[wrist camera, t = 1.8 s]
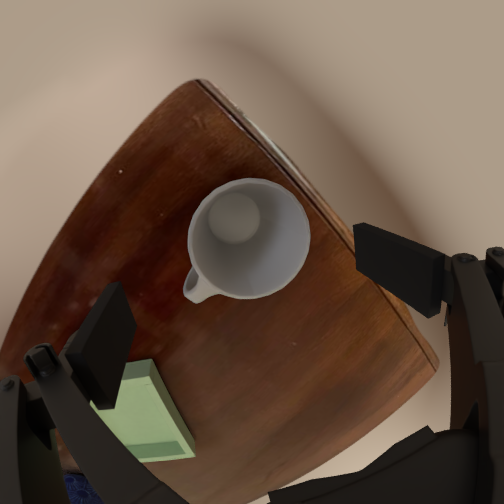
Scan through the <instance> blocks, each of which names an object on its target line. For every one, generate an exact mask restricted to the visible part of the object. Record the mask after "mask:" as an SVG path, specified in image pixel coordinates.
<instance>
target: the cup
mask: <svg viewBox="0 0 504 504" xmlns="http://www.w3.org/2000/svg"><path fill="white" fill-rule="evenodd" d="M310 237H311V235H310V227H309V220H308V218H307V216H306V213H305V211H304V208H303V206H302V205H301V204H300V202H299V201H298V200H297V199H296V197H295V196H294V195H293V194H292V193H291V192H289V191H288V190H287V189H285V188H284V187H283V186H281V185H279V184H277V183H274V182H271V181H269V180H266V179H257V178H245V179H240V180H235V181H230V182H228V183H226V184H224V185H222V186H220V187H219V188H217V189H215V190H214V191H213V192H211V193H210V194H209V195H208V196H207V197H206V198H205V199H204V200H203V201H202V202H201V204H200V205H199V207H198V208H197V210H196V212H195V213H194V215H193V217H192V221H191V224H190V227H189V230H188V251H189V255H190V259H191V263H192V265H193V266H192V268H191V270H190V272H189V273H188V276H187V278H186V281H185V284H184V288H183V292H184V295H185V296H186V297H187V298H188V299H189V300H191V301H192V302H194V303H200V302H202V301H203V300H205V299H206V298H207V297H209V296H212V295H216V294H223V295H225V296H229V297H233V298H237V299H256V298H260V297H263V296H267V295H270V294H272V293H274V292H276V291H278V290H280V289H282V288H283V287H284V286H286V285H287V284H288V283H289V282H290V281H291V280H292V279H294V277H295V276H296V275H297V273H298V272H299V270H300V269H301V268H302V266H303V264H304V262H305V259H306V256H307V254H308V251H309V244H310Z"/></svg>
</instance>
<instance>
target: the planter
mask: <svg viewBox="0 0 504 504" xmlns="http://www.w3.org/2000/svg"><path fill="white" fill-rule="evenodd" d="M64 480H65V484H66V488H67V492H68V495H69V499H70V502H71V504H104V502H103V501H102V500H101V498H100V497H99V496H98V494H97V493H96V491H95V490H94V489H93V487H92V486H91V484H90V483H89V481H88V480H87V478H86V477H85V476H82V475H77V474H67V475H64Z"/></svg>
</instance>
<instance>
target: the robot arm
mask: <svg viewBox="0 0 504 504" xmlns="http://www.w3.org/2000/svg"><path fill="white" fill-rule="evenodd" d="M353 232H354V244H355V257H356V270H358V271H359V272H361V273H362V274H364V275H365V276H367V277H368V278H370V279H371V280H373V281H374V282H376V283H377V284H379V285H380V286H382V287H383V288H385V289H386V290H388V291H389V292H391V293H392V294H393V295H395V296H396V297H398V298H399V299H401V300H402V301H404V302H405V303H407V304H408V305H410V306H411V307H412V308H414V309H415V310H417V311H418V312H420V313H421V314H422V315H424V316H425V317H426V318H431V317H432V316H435V315H436V314H439V313H440V309H441V301H442V300H443V301H444V302H446V303H447V309H446V316H445V322H444V326H446V325H447V324H448V332H449V346H450V362H451V418H450V430H444V431H441V432H436V433H434V432H433V431H432V430H431V429H430V428H429V426H428V425H427V426H425V427H424V428H422V429H420V430H419V431H417V432H415V433H413V434H412V435H410V436H408V437H407V438H405V439H403V440H401V441H399V442H398V443H395V444H394V445H393V446H392V447H391V448H389V449H388V450H387V451H386V452H384V453H383V454H382V455H381V456H379V457H378V458H377V459H376V460H374V461H373V462H372V463H370V464H369V465H368V466H367V467H365V468H364V469H362V470H360V471H358V472H354V473H349V474H343V475H338V476H332V477H326V478H319V479H312V480H309V481H305V482H303V483H299V484H296V485H293V486H289V487H286V488H282V489H278V490H274V491H271V492H268V495H269V498H270V502H269V503H267V504H504V249H503V248H502V247H492V248H488V249H487V251H486V259H485V260H480V261H479V260H478V259H477V258H476V257H475V256H474V255H470V254H467V253H461V254H455V255H453V256H452V257H449V256H447V255H445V254H443V253H441V252H439V251H436V250H434V249H432V248H429V247H427V246H424V245H422V244H419V243H417V242H414V241H412V240H409V239H406V238H404V237H401V236H399V235H396V234H394V233H391V232H388V231H386V230H383V229H380V228H378V227H375V226H372V225H369V224H366V223H360V224H355V225H353ZM136 327H137V324H136V322H135V319H134V317H133V314H132V312H131V309H130V306H129V304H128V301H127V298H126V296H125V293H124V290H123V287H122V284H121V282H120V281H119V282H115V283H110V284H108V285H107V286H106V288H105V289H104V291H103V292H102V294H101V295H100V297H99V298H98V300H97V301H96V303H95V304H94V306H93V308H92V309H91V311H90V312H89V314H88V315H87V317H86V319H85V320H84V322H83V323H82V325H81V327H80V328H79V330H77V331H76V332H75V333H74V334H73V335H71V336H70V338H69V339H68V341H67V343H66V344H65V346H64V348H63V350H62V351H61V353H60V354H59V356H58V357H57V355H56V353H55V351H54V349H53V347H52V345H51V344H49V343H42V344H39V345H37V346H34V347H33V348H31V349H30V350H29V351H28V352H27V353H26V354H25V356H24V359H23V360H24V362H25V364H26V366H27V367H28V369H29V371H30V372H31V374H32V376H33V377H34V379H35V381H33V382H30V383H27V384H23V382H22V381H21V379H20V378H19V377H18V376H17V375H12V376H9V377H7V378H4V379H3V380H1V381H0V504H71V502H70V499H69V495H68V492H67V488H66V484H65V480H64V476H63V472H62V468H61V463H60V459H59V454H58V448H57V443H56V437H55V430H54V429H55V428H57V430H58V431H59V433H60V435H61V437H62V439H63V441H64V443H65V444H66V446H67V448H68V450H69V451H70V453H71V455H72V456H73V458H74V460H75V461H76V463H77V465H78V466H79V468H80V469H81V471H82V472H83V474H84V475H85V477H86V478H87V480H88V481H89V483H90V484H91V486H92V487H93V489H94V490H95V491H96V493H97V494H98V496H99V497H100V498H101V500H102V501H103V502H104V504H189V503H188V502H187V501H186V500H184V499H183V498H182V497H181V496H179V495H178V494H177V493H176V492H175V491H173V490H172V489H171V488H170V487H169V486H167V485H166V484H165V483H164V482H162V481H160V480H159V479H158V478H156V477H155V476H154V475H153V474H152V473H151V472H150V471H149V470H148V469H147V468H146V467H145V466H144V465H143V464H142V463H141V462H140V461H139V460H138V459H137V458H136V457H135V456H134V455H133V454H132V453H131V452H130V451H129V450H128V449H127V448H126V447H125V446H124V444H123V443H122V442H121V441H120V440H119V439H118V438H117V437H116V436H115V434H114V433H113V432H112V431H111V430H110V429H109V427H108V426H107V425H106V424H105V423H104V421H103V420H102V419H101V418H100V417H99V415H98V414H97V413H96V412H95V410H94V409H93V408H92V406H91V405H90V402H91V401H92V402H93V404H94V405H95V407H96V408H97V410H110V409H115V405H116V401H117V397H118V393H119V389H120V385H121V381H122V377H123V373H124V369H125V366H126V362H127V358H128V355H129V351H130V348H131V344H132V341H133V337H134V334H135V331H136Z"/></svg>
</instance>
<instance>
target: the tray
mask: <svg viewBox="0 0 504 504" xmlns="http://www.w3.org/2000/svg"><path fill="white" fill-rule="evenodd" d="M90 405H91V406H92V408H93V409H94V410H95V412H96V413H97V414H98V415H99V417H100V418H101V419H102V420H103V421H104V423H105V424H106V425H107V426H108V427H109V429H110V430H111V431H112V432H113V433H114V434H115V436H116V437H117V438H118V439H119V440H120V441H121V442H122V443H123V444H124V446H125V447H126V448H127V449H128V450H129V451H130V452H131V453H132V454H133V455H134V456H135V457H136V458H137V459H138V460H139V461H140V462H152V461H164V460H173V459H182V458H189V457H196V454H195V443H194V442H195V441H194V438H193V437H192V435H191V433H190V432H189V430H188V428H187V426H186V425H185V423H184V421H183V419H182V417H181V416H180V414H179V412H178V410H177V408H176V406H175V405H174V403H173V401H172V399H171V397H170V395H169V393H168V391H167V389H166V387H165V385H164V383H163V381H162V379H161V377H160V375H159V373H158V371H157V368H156V366H155V364H154V362H153V360H152V359H147V360H141V361H135V362H129V363H126V366H125V369H124V373H123V377H122V381H121V385H120V389H119V393H118V397H117V401H116V405H115V409H110V410H97V408H96V407H95V405H94V404H93V402H92V401H91V402H90Z"/></svg>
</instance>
